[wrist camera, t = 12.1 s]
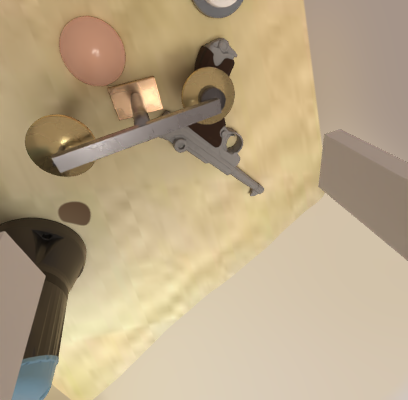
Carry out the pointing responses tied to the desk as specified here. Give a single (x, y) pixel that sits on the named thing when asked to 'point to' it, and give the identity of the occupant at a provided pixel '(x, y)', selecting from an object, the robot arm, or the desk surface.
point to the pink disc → (92, 51)
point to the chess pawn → (220, 3)
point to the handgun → (213, 133)
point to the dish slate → (216, 12)
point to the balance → (126, 108)
